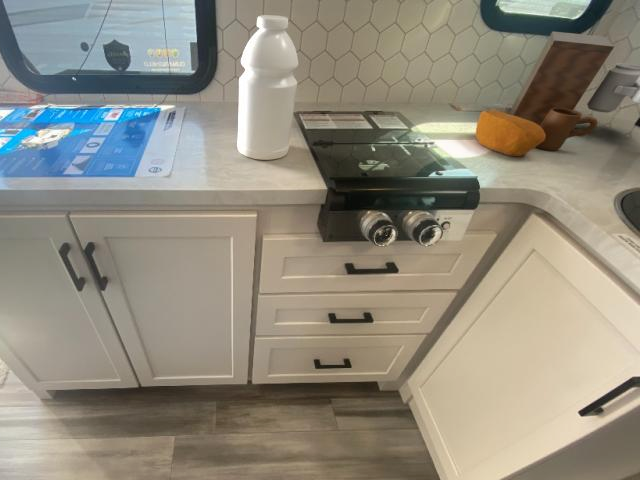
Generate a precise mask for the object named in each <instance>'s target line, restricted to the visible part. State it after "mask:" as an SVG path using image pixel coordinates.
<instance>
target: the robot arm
mask: <svg viewBox="0 0 640 480" xmlns="http://www.w3.org/2000/svg"><path fill="white" fill-rule="evenodd" d="M613 92H614V93H617V94H622V95H625V97H629V98H630V100H631V101H632V102H633V103H635V104H640V77H639V78H638V80H637V81H636V82H635V84H634V85H633V87H625V86H619V85H618V86H616V87H615V89H614V90H613Z"/></svg>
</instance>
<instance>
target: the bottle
mask: <svg viewBox="0 0 640 480" xmlns="http://www.w3.org/2000/svg"><path fill="white" fill-rule="evenodd" d="M256 27H257V28H259V29H258V30H257V31H256V32H255V33H254V34H252V36H251V37H250V38H249V40H248V42H247V43H246V46H245V47H244V49H243V52H242V55H241V58H240V64H241V65H242V67H243V68H244V72H242V74H241V76H240V77H238V117H237V118H238V121H237V123H238V124H237V125H238V126H237V130H238V131H237V143H236V144H237V151H238V152H239V153H240V154H241V155H242V156H244V157H247V158H251V159H254V160H261V161H262V160H263V161H268V160H269V161H270V160H271V161H272V160H277V159H280V158H283V157H285V156H286V155H287V154H288V153H289V150H290V146H291V145H290V140H291V134H292V128H293V127H292V126H293V118H294V111H295V103H296V96H297V89H298V81H297V79H296V78H295V76H294V71H295V70H296V69H297V68H298V67H299V58H298V52H297V49H296V47H295V45H294V42H293V39H292V38H291V37H290V35H289V34H288V33H287V31H286V29H288V28H289V18H288V17H287V16H282V15H271V14H270V15H269V14H265V15H264V14H263V15H259V16H257V19H256Z"/></svg>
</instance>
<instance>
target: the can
mask: <svg viewBox="0 0 640 480" xmlns="http://www.w3.org/2000/svg"><path fill="white" fill-rule="evenodd" d="M639 77H640V65H636V64H631V63H616V64H615V66H614V67H612V68H610V69H609V70H608V72H607V73H606V75H605V76H604V78H603V79H602V81H601V82H600V84H599V86H598V87H597V89H596V90H595V91H594V93H593V94H592V96H591V97H590V99H589V100H588V102H587V104H586V105H587V109H589V110H591V111H594V112H599V113H612V112H614V111H616V110H617V109H618V108H619V106H620V105H621V103H622V102H623V100H624V99H625V98H626V96H625V95H622V94H617V93H614V92H613V90H614V89H615V87H616V86H618V85H619V86H625V87H633V85H634V84H635V82H636V81H637V80H638V78H639Z"/></svg>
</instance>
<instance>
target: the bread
mask: <svg viewBox="0 0 640 480" xmlns="http://www.w3.org/2000/svg"><path fill="white" fill-rule="evenodd" d="M475 137H476V140H477V141H478V143H479V144H480V145H481V146H483V147H484V148H487V149H489V150H492V151H495V152H497V153H501V154H504V155H506V156H510V157H511V156H512V157H521V156H524V155H525V154H527V153H529V152H530V151H532V150H534V149H535V148H537V147H536V146H537V145H539V144H541V143H542V142H543V141H544V140H545V137H546V135H545V132H544V130H543V129H542V128H541V127H540V126H539V125H538V124H536V123H534V122H531V121H529V120H526V119H523V118H520V117H517V116H514V115H510V113H506V112H505V111H502V110H496V109H495V110H494V109H493V110H482V111H481V113H480V114H479V118H478V121H477V124H476V128H475Z"/></svg>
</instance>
